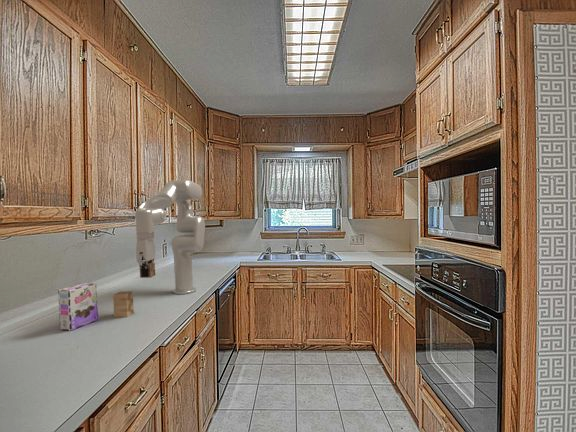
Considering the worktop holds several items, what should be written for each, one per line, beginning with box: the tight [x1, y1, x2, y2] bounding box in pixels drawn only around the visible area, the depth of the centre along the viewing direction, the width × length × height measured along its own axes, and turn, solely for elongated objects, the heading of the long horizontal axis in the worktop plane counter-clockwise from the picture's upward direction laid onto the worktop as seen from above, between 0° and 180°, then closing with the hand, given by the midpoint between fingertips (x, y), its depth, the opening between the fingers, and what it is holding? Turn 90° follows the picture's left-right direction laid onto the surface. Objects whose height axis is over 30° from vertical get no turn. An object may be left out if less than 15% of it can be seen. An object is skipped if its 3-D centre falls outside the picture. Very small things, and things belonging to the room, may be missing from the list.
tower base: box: [113, 302, 135, 318], centre depth 166 cm, size 6×6×5 cm
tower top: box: [112, 290, 134, 307], centre depth 166 cm, size 6×6×5 cm
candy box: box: [57, 282, 99, 332], centre depth 153 cm, size 14×6×16 cm, turn 161°
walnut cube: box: [138, 262, 156, 279], centre depth 171 cm, size 5×5×6 cm
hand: (147, 274), depth 171 cm, fingers closed on walnut cube, 5 cm apart
